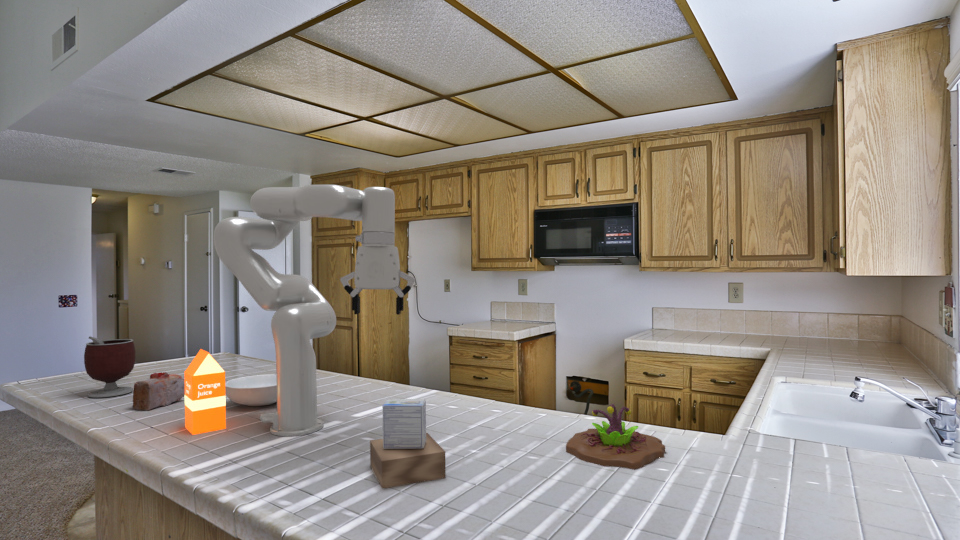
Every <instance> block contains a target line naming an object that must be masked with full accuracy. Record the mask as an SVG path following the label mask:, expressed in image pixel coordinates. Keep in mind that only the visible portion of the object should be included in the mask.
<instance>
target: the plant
mask: <svg viewBox="0 0 960 540" xmlns="http://www.w3.org/2000/svg"><path fill="white" fill-rule="evenodd" d="M606 411H607V412H605V411H604V410H601V409H593V410H592V411H591V414H592V416H593V417H598V415H599V414H602V415H603V417H605V418H606V419H607V420H608V422H609V423H608V422H606V421H605V420H602V421H601V424H602V425H600V424H599V423H597V422H591V424H592V425H591V426H593V427H594V428H588V429H587V430H585V431H579V432H576V433H575V434H573V436H572V437H570V439H569V440H568V441H567V442H566V445H565V452H566V453H567V454H570V455H572V456H573V457H576V458H577V459H578V460H581V461H584V462H587V463H591V464H594V465H598V466H602V467H611V468H612V467H615V468H623V469H629V470H638V469H641V468H643V467H645V466H646V465H650V464H651V463H653V462H654V461H655V460H657V459H662V458H661V457H663V458H664V457H665V454H666V445H665V444H663V441H662V439H660V438H658V437H655V436H653V435H650V434H649V435H648V434H644V433H641V432H639V431H636V430H637V429H639V426H638V425H633V426H631V427H628V428H627V429H626V423H625V421H622V417H623V416H622V415H623V412H624V411H625V414H626V415H627V416H630V415H632V410H631V409H630V408H628V407H626V406H623V407H621V408H620V410H619V411H618V410H617V407H616V406H615V403H611V404H610V405H608V406H607V408H606ZM617 411H618V412H617ZM609 414H612V416H610V415H609ZM664 453H665V454H664ZM659 457H660V458H659ZM656 458H657V459H656ZM652 461H653V462H652Z"/></svg>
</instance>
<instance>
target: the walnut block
mask: <svg viewBox="0 0 960 540" xmlns="http://www.w3.org/2000/svg"><path fill="white" fill-rule="evenodd" d="M369 451H370V453H369V455H370V456H369V457H370V459H369V460H370V463H369V465H370V467H371V470H372V472H373V474H374V476H375V478H376V480H377V481H378V483H379V485H380V487H381V489H382V490H383V489H388V488H394V487H400V486H406V485H410V484H417V483H424V482H428V481H434V480H435V481H436V480H441V479H446V450H444V449H443V447H441V445H440V444H439V443H438V442H437V441H436V440H435V439H434V438H433V436H431V434H429V432H426V443H425V446H424V448H423V449H383V438H380V439H372V440H369Z"/></svg>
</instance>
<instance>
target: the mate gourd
mask: <svg viewBox="0 0 960 540" xmlns="http://www.w3.org/2000/svg"><path fill="white" fill-rule="evenodd" d="M88 339H89V340H92V341H90V342H89V341H88V342H86V343H85V348H84V353H83V364H84V368H85V369H84V370H85V372H86V374H87V375H88V376H89V377H90V378H91V379H92V380H95V381H99V382H101V383H102V382H103V383H105V385H104V386H103V388H100V389H95V390H93V391H89V392H87V397H89V398H110V397H115V396H122V395H126V394H129V393H131V392H132V393H133V390H134V387H131V386H118V384H117V382H118V381H119V380H121V379H123V378H125V377H127V376H129V375H130V374H131V372H132V371H133V370H134V368H135V363H136V347H135V343H134V339H132V338H130V339H129V338H124V339H123V338H121V339H119V338H118V339H117V338H116V339H106V340H105V339H104V340H101V339H99V338H97V337H94V336H88Z"/></svg>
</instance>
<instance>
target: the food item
mask: <svg viewBox="0 0 960 540" xmlns="http://www.w3.org/2000/svg"><path fill="white" fill-rule="evenodd" d="M132 394H133V395H132V406H131V408H132V409H133V410H135V411H150V410H152V409H156V408H159V407H161V406H162V407H163V406H164V407H165V406H169V405H172V403H175V402H178V401H180V400H182V399H183V398H184V395H185V384H184V378H183V377H182V375H180V374H177V373H167V372H153V373H151V374H150V375H149V378H147V379H143V380H139V381H136V382H134V384H133V391H132Z"/></svg>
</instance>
